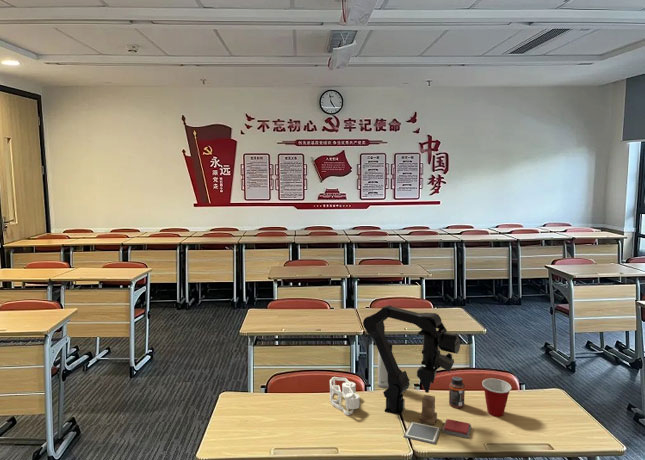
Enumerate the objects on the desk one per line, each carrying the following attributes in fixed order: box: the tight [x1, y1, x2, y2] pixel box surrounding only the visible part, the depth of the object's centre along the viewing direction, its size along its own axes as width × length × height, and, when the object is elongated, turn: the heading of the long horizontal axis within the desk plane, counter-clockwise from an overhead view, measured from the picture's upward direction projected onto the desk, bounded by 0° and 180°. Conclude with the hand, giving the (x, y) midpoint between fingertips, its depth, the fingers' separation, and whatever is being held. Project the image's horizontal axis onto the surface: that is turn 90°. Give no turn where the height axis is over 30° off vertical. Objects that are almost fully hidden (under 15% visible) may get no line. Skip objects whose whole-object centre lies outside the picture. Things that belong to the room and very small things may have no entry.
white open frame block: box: [329, 376, 360, 416], centre depth 188 cm, size 20×11×7 cm, turn 4°
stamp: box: [418, 394, 438, 426], centre depth 174 cm, size 6×6×9 cm
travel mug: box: [377, 341, 393, 390], centre depth 204 cm, size 6×7×20 cm
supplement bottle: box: [448, 376, 466, 409], centre depth 186 cm, size 6×6×11 cm
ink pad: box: [441, 418, 472, 439], centre depth 167 cm, size 9×8×2 cm
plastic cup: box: [481, 377, 513, 418], centre depth 178 cm, size 11×11×12 cm
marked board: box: [403, 421, 442, 445], centre depth 165 cm, size 11×11×1 cm
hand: (429, 387), depth 173 cm, fingers open, 9 cm apart
